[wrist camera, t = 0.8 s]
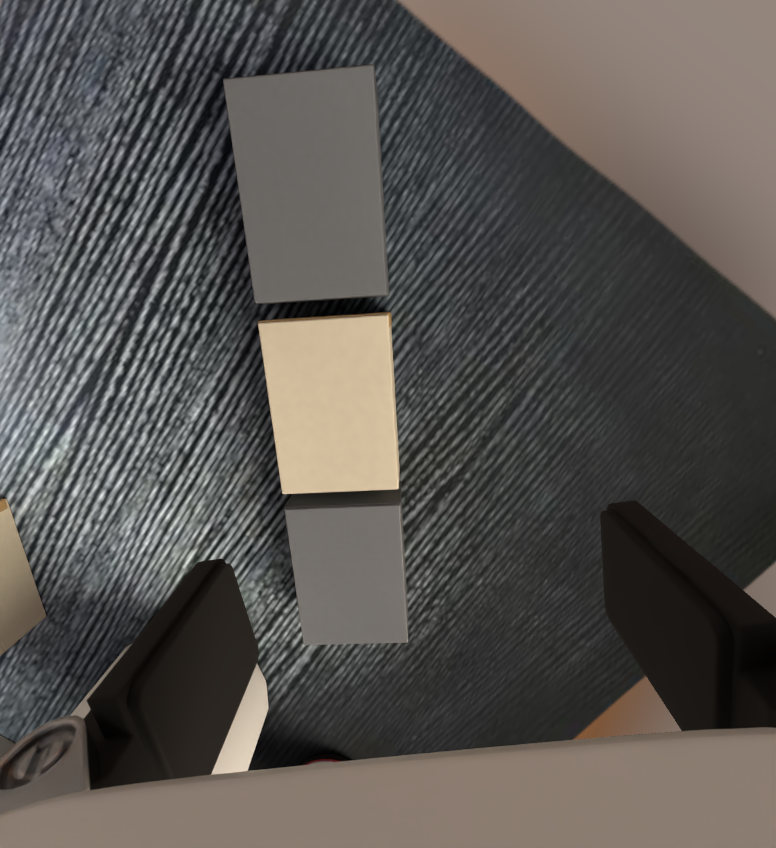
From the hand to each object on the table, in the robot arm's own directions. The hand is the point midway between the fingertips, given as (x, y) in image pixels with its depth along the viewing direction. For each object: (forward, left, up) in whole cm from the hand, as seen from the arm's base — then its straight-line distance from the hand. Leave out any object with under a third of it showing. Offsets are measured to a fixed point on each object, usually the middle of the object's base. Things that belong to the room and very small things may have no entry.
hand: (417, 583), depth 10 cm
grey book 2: (+10, -4, -17) cm, 20 cm away
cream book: (-1, -4, -17) cm, 18 cm away
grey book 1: (-12, -4, -17) cm, 22 cm away
